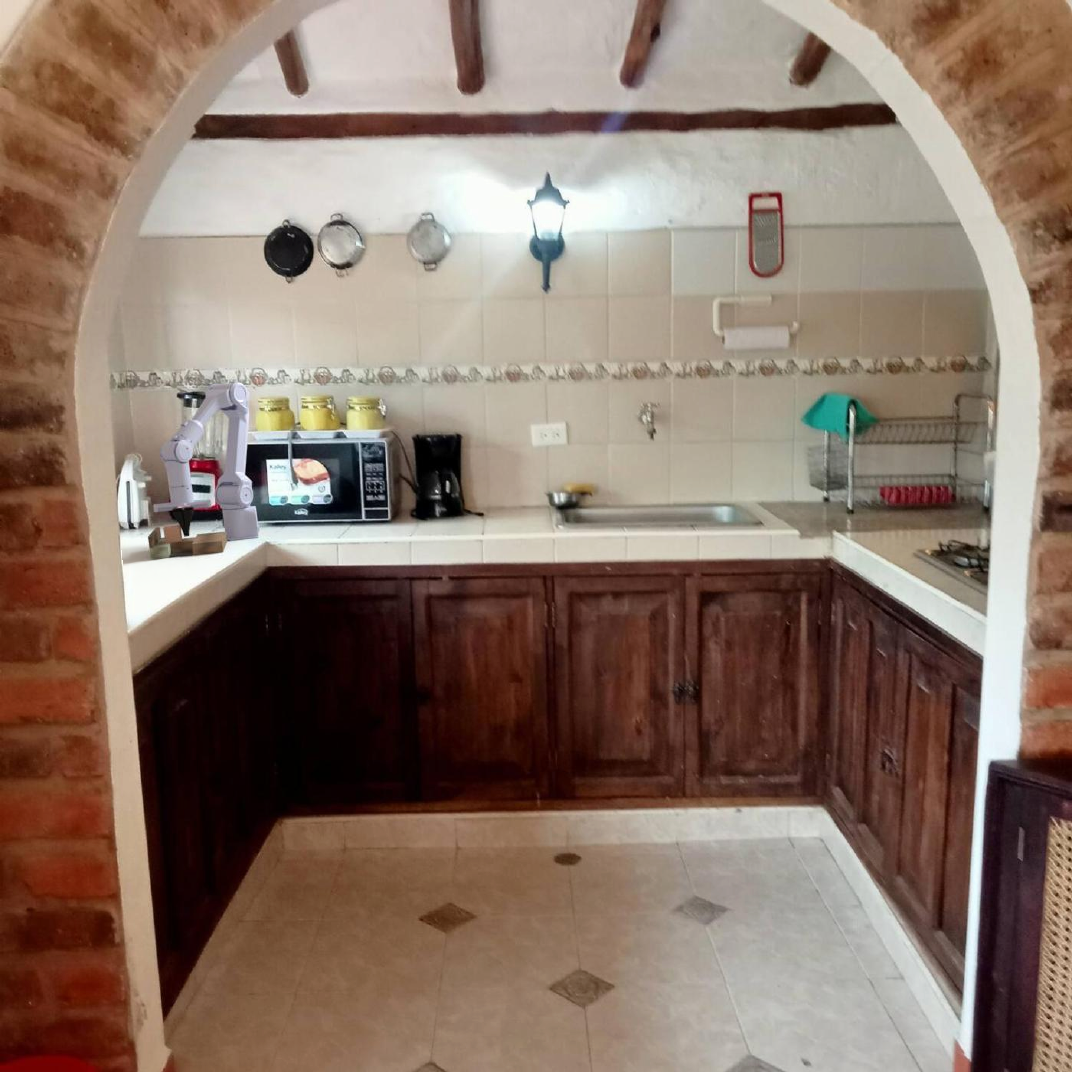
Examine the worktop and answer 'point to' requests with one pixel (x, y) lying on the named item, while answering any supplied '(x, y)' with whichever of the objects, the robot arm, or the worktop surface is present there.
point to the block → (172, 533)
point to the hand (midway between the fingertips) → (186, 535)
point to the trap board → (186, 545)
